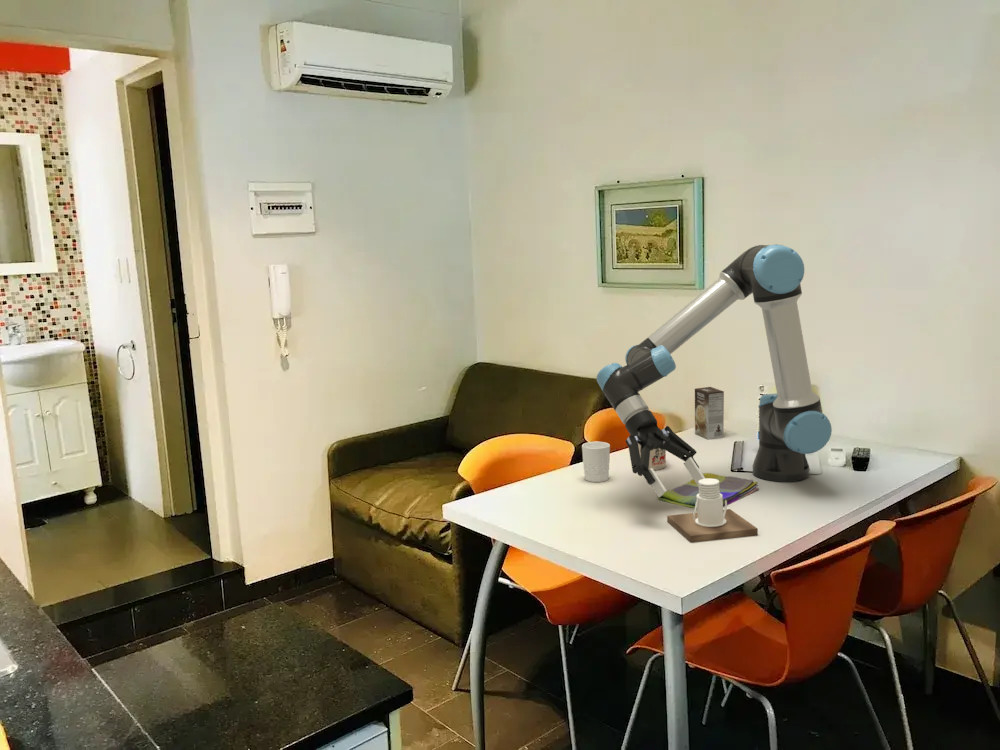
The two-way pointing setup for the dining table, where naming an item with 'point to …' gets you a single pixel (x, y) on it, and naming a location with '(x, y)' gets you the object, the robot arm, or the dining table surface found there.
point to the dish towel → (728, 488)
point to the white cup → (596, 461)
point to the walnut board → (696, 533)
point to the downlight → (709, 504)
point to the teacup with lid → (656, 458)
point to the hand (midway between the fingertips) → (682, 488)
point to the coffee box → (709, 412)
